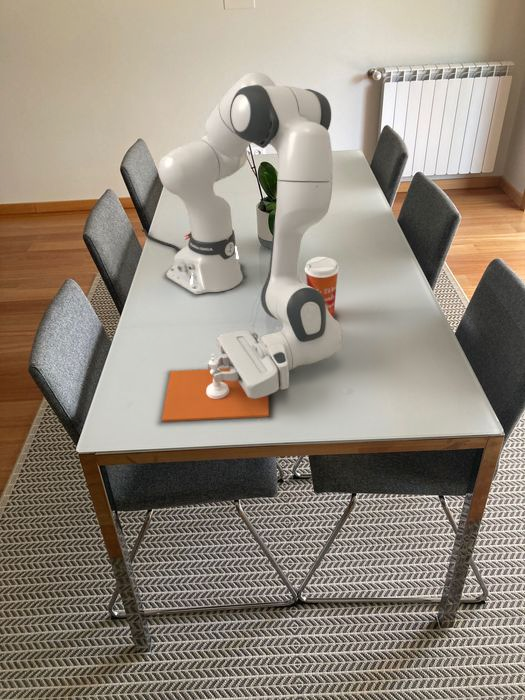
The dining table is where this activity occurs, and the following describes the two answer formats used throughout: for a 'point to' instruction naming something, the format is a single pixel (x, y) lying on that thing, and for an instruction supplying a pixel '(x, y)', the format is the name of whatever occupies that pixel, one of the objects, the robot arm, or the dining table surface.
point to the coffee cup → (323, 279)
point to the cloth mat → (208, 399)
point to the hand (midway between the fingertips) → (210, 372)
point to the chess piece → (216, 383)
